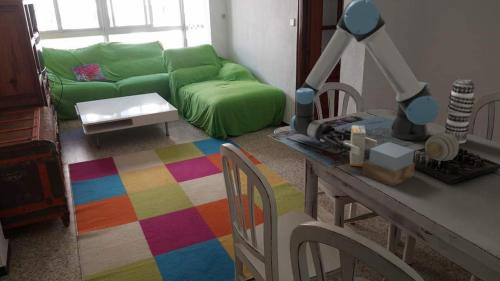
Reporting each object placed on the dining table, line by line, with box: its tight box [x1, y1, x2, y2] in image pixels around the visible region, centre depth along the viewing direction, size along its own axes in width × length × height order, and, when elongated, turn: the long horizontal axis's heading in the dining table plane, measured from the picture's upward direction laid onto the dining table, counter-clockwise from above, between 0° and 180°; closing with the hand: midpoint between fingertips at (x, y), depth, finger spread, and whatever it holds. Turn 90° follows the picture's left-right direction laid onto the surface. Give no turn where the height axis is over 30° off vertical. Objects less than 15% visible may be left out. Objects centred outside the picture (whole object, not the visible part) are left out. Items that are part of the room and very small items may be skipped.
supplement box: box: [349, 124, 367, 167], centre depth 139 cm, size 8×5×13 cm, turn 168°
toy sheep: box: [424, 132, 460, 161], centre depth 137 cm, size 11×17×11 cm, turn 130°
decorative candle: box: [443, 78, 477, 144], centre depth 154 cm, size 9×9×25 cm
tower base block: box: [362, 159, 416, 187], centre depth 130 cm, size 12×12×5 cm
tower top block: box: [368, 141, 415, 172], centre depth 128 cm, size 10×10×5 cm
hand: (367, 147), depth 135 cm, fingers closed on supplement box, 9 cm apart
